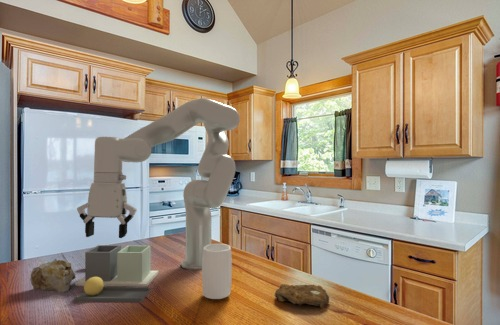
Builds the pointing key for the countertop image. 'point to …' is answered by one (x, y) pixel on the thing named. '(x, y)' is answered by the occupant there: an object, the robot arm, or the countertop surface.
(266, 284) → the countertop surface
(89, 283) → the mustard ball
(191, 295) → the countertop surface
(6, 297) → the countertop surface
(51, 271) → the rock
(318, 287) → the decorative rock
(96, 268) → the grey double box
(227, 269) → the cup
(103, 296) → the mat
